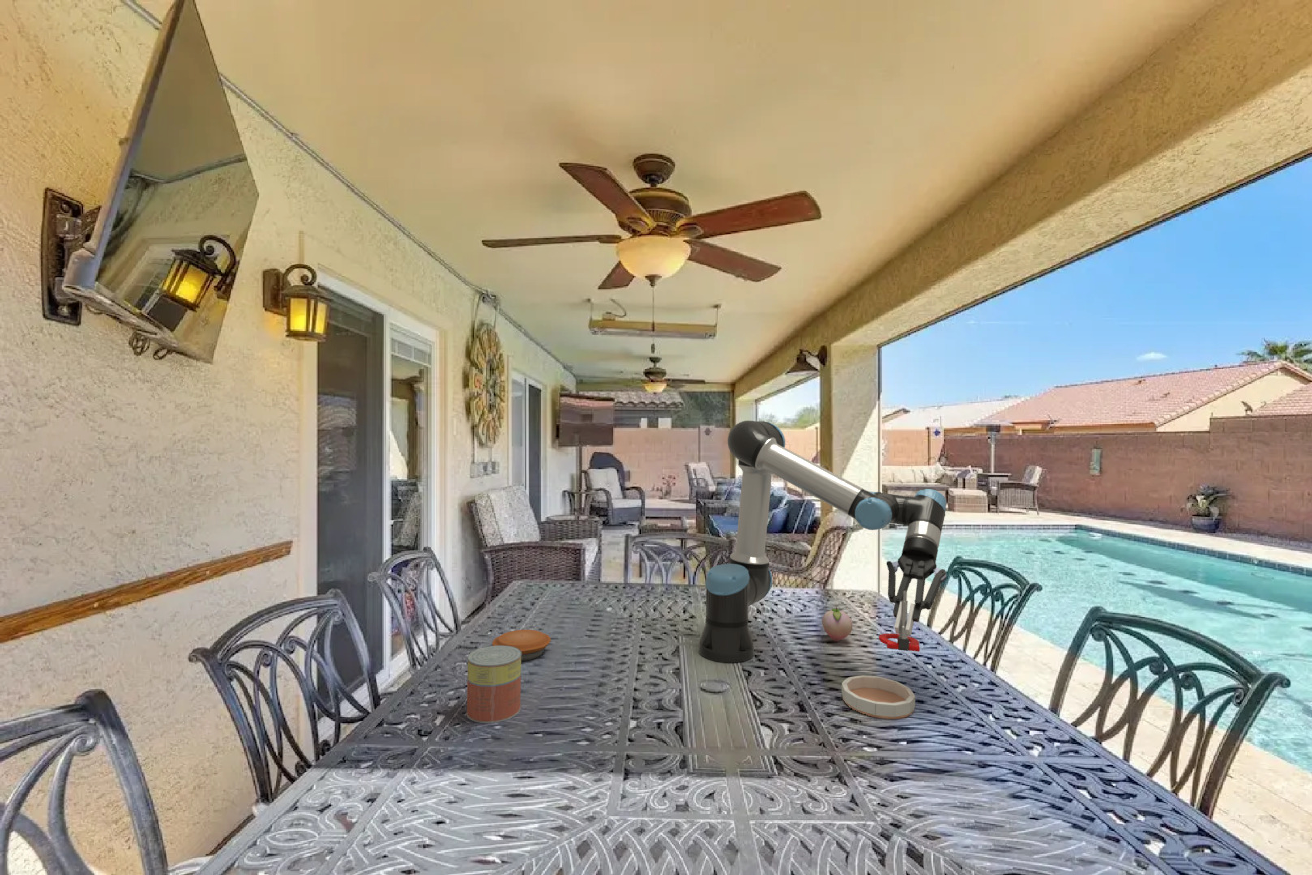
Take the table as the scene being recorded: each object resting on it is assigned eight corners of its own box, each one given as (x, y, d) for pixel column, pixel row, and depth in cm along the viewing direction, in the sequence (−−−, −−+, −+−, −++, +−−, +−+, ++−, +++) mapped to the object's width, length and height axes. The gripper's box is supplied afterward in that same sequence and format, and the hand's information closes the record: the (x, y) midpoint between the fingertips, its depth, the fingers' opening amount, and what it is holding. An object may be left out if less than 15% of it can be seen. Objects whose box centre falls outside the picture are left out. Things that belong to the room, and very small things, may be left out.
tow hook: (875, 636, 136) (883, 649, 126) (877, 581, 136) (885, 590, 127) (913, 640, 134) (924, 653, 125) (915, 584, 134) (926, 593, 125)
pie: (479, 659, 153) (479, 640, 153) (515, 640, 167) (515, 623, 167) (528, 668, 147) (528, 649, 147) (561, 648, 161) (561, 630, 161)
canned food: (504, 693, 132) (504, 641, 132) (530, 711, 124) (531, 655, 124) (457, 709, 124) (457, 653, 124) (482, 729, 116) (483, 669, 116)
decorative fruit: (856, 647, 165) (856, 612, 166) (827, 646, 166) (828, 611, 166) (846, 635, 175) (846, 603, 175) (819, 635, 175) (819, 602, 175)
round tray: (848, 715, 124) (848, 701, 124) (838, 686, 139) (838, 673, 139) (922, 722, 122) (922, 707, 122) (903, 691, 136) (903, 678, 136)
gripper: (956, 558, 137) (941, 648, 124) (891, 549, 146) (871, 632, 132) (953, 539, 133) (937, 630, 120) (887, 531, 141) (865, 615, 128)
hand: (902, 631), depth 126 cm, fingers closed on tow hook, 1 cm apart
